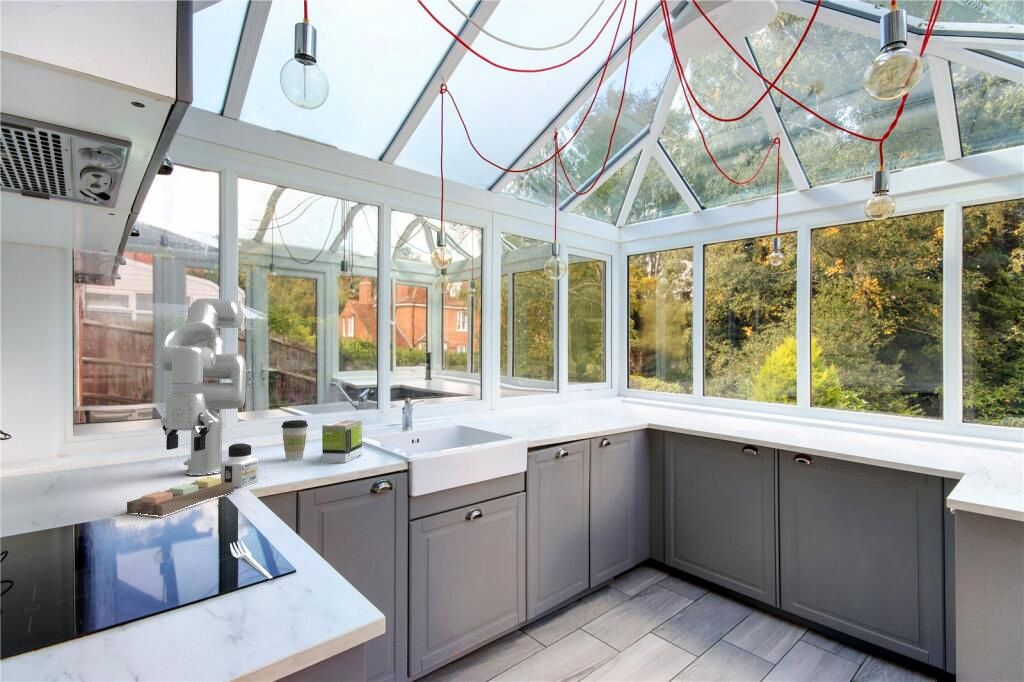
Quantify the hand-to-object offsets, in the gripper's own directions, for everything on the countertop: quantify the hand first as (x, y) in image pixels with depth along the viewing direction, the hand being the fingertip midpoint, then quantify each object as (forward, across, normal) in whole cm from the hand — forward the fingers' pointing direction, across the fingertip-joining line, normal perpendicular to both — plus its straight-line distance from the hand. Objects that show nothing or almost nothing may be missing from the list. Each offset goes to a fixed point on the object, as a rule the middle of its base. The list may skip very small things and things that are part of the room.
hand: (185, 449), depth 139 cm
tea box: (+15, +10, +62) cm, 65 cm away
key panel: (+15, 0, 0) cm, 15 cm away
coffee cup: (+14, -8, +56) cm, 59 cm away
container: (+15, 0, +20) cm, 25 cm away
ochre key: (+13, 0, +8) cm, 16 cm away
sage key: (+14, 0, 0) cm, 14 cm away
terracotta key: (+14, 0, -8) cm, 16 cm away
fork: (+16, +48, -28) cm, 58 cm away
